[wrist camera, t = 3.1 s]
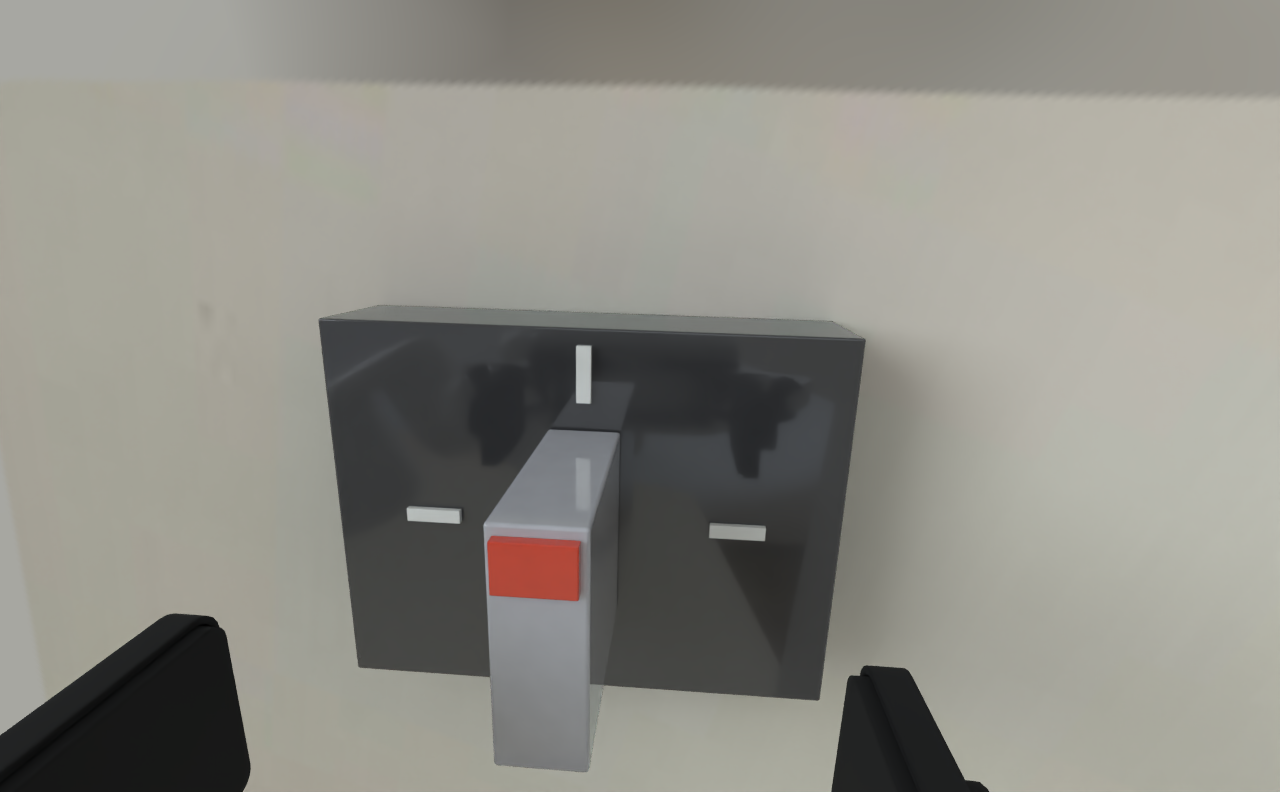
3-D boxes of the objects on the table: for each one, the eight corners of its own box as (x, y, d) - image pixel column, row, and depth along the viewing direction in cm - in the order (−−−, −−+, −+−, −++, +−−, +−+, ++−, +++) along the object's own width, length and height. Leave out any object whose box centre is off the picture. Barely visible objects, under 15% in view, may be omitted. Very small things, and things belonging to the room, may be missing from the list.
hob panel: (405, 605, 20) (354, 672, 17) (378, 304, 17) (313, 319, 14) (798, 630, 19) (821, 706, 16) (834, 320, 16) (868, 340, 13)
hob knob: (617, 609, 16) (586, 786, 11) (550, 605, 16) (489, 778, 11) (620, 431, 14) (588, 536, 9) (547, 428, 14) (476, 530, 9)
